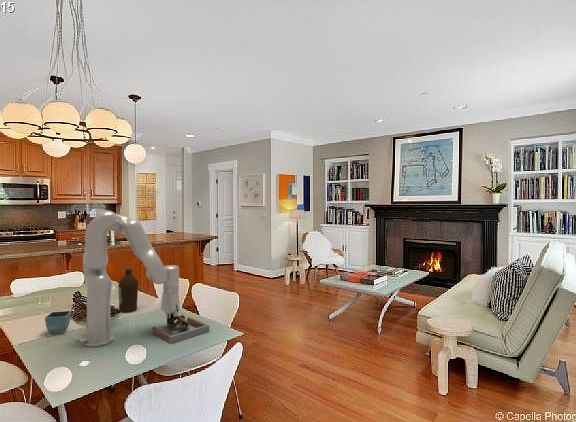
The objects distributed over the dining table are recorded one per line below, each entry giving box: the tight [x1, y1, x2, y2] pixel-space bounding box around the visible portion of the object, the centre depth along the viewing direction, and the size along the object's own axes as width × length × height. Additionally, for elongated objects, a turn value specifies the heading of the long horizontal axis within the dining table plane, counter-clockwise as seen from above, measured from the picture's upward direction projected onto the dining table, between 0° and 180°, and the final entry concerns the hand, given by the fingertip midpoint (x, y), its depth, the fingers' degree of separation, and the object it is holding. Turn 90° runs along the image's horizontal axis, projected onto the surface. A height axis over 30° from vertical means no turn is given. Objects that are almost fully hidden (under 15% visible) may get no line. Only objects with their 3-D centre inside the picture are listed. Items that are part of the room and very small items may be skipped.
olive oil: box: [117, 267, 139, 314], centre depth 202 cm, size 11×11×25 cm
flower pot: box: [44, 310, 72, 335], centre depth 167 cm, size 9×9×9 cm
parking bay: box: [151, 316, 210, 344], centre depth 171 cm, size 21×18×3 cm
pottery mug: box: [166, 314, 190, 332], centre depth 174 cm, size 12×10×8 cm
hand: (170, 325), depth 177 cm, fingers closed
